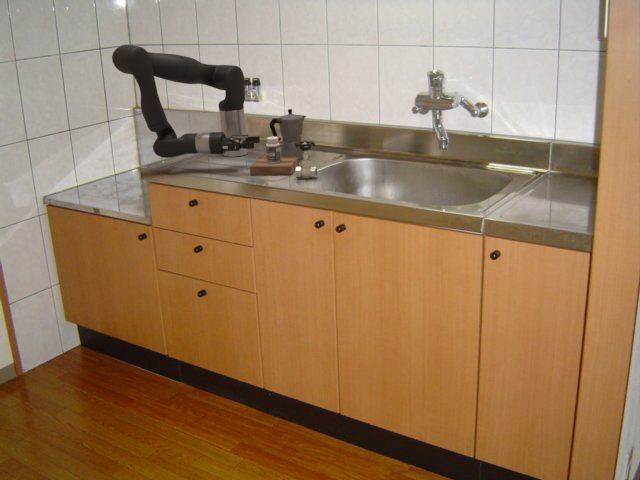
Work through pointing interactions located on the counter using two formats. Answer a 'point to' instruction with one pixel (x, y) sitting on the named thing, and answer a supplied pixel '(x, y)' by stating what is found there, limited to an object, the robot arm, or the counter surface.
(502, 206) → the counter surface
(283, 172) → the stand
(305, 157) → the valve
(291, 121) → the coffeepot
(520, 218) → the counter surface
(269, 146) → the pill bottle
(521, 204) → the counter surface
